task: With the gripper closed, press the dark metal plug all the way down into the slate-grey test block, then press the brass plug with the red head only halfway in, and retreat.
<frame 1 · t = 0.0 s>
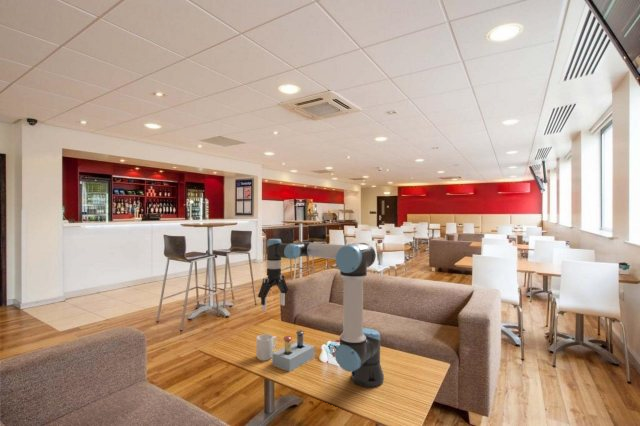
hand: (273, 307, 170), 28 cm above the table, fingers open, 13 cm apart
test block: (293, 361, 169), on the table
mug: (267, 357, 174), on the table
brass plug: (287, 346, 165), point 9 cm above the table, slide at 0.0 cm
dark plug: (300, 340, 173), point 9 cm above the table, slide at 0.0 cm
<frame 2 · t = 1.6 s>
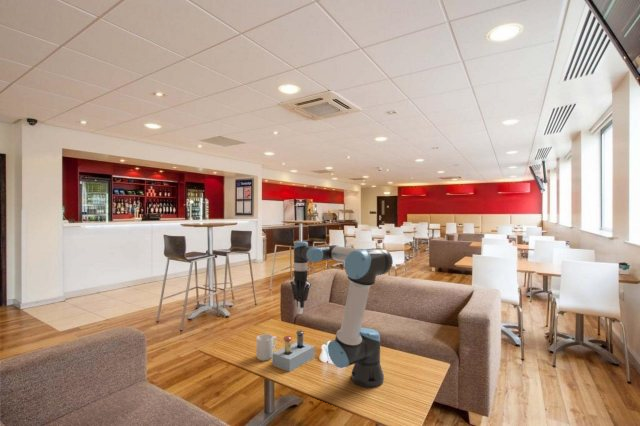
hand: (300, 313, 173), 24 cm above the table, fingers closed
nothing on the table moved.
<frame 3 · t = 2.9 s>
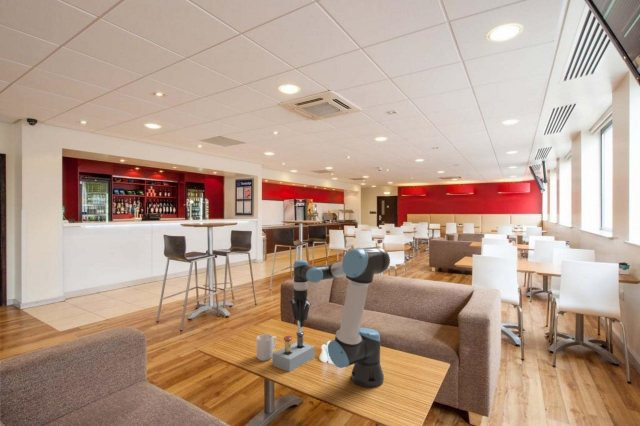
hand: (300, 332, 173), 14 cm above the table, fingers closed
dark plug: (300, 341, 173), point 9 cm above the table, slide at 0.5 cm, touching gripper
everything else where it was.
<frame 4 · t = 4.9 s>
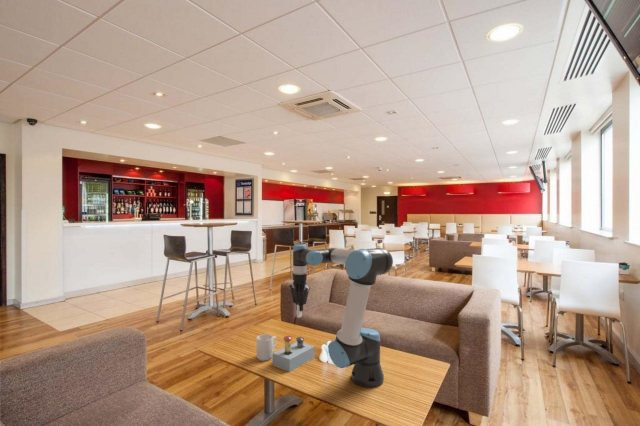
hand: (299, 316, 173), 22 cm above the table, fingers closed
dark plug: (300, 346, 173), point 6 cm above the table, slide at 3.6 cm
everything else where it was.
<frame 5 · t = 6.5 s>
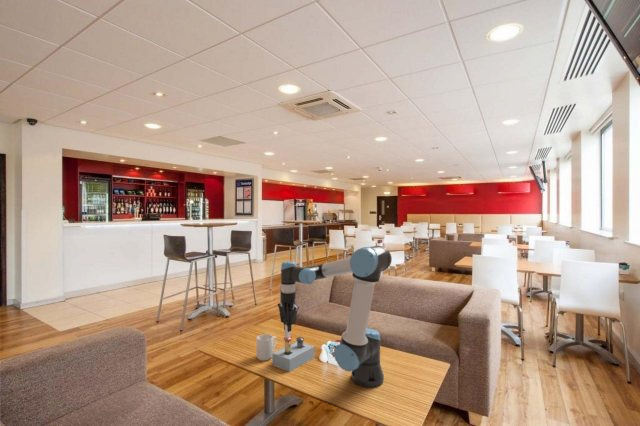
hand: (287, 337, 165), 14 cm above the table, fingers closed
brass plug: (287, 346, 165), point 9 cm above the table, slide at 0.1 cm, touching gripper
everything else where it was.
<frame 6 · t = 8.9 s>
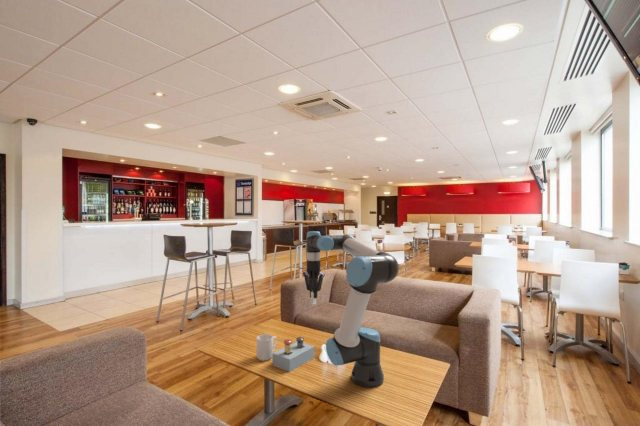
hand: (313, 303, 171), 30 cm above the table, fingers closed
brass plug: (287, 349, 165), point 8 cm above the table, slide at 1.8 cm
everything else where it was.
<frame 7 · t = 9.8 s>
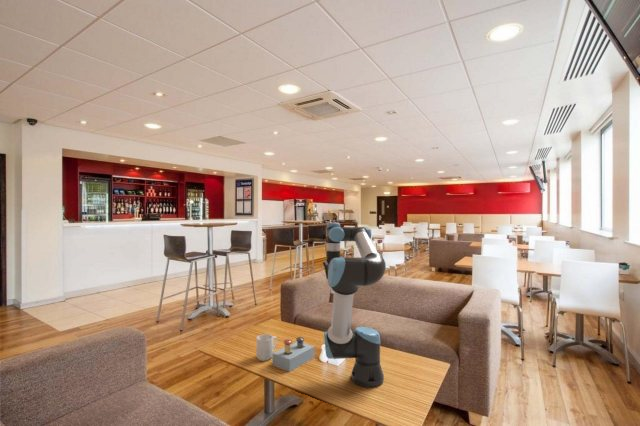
hand: (333, 292, 178), 34 cm above the table, fingers closed
nothing on the table moved.
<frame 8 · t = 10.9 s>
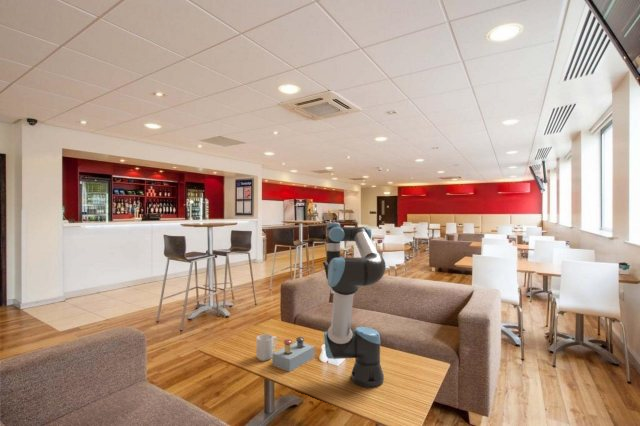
hand: (333, 292, 178), 34 cm above the table, fingers closed
nothing on the table moved.
at the end: dark plug slide at 3.6 cm; brass plug slide at 1.8 cm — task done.
